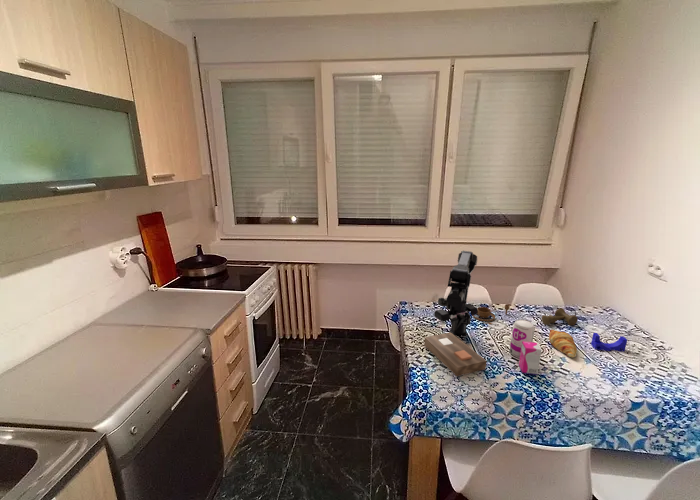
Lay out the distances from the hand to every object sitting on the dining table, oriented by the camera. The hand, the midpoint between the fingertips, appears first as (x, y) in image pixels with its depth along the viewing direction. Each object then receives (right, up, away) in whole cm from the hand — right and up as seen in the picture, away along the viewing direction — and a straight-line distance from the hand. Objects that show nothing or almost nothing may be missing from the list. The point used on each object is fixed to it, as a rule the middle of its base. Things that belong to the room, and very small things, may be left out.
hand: (454, 329), depth 144 cm
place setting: (+31, -3, +35) cm, 47 cm away
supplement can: (+29, -11, +2) cm, 31 cm away
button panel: (-1, -11, -1) cm, 11 cm away
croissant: (+51, -10, +8) cm, 53 cm away
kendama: (+65, -4, +31) cm, 72 cm away
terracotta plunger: (+1, -12, -7) cm, 13 cm away
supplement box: (+27, -14, -10) cm, 32 cm away
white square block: (-3, -9, +5) cm, 11 cm away
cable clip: (+72, -10, +7) cm, 73 cm away
